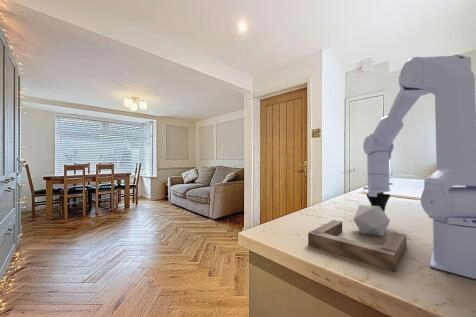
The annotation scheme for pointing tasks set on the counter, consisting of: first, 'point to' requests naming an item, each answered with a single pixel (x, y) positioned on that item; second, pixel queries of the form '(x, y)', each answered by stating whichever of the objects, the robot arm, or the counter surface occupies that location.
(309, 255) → the counter surface
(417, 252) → the counter surface
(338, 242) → the pocket
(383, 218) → the die
